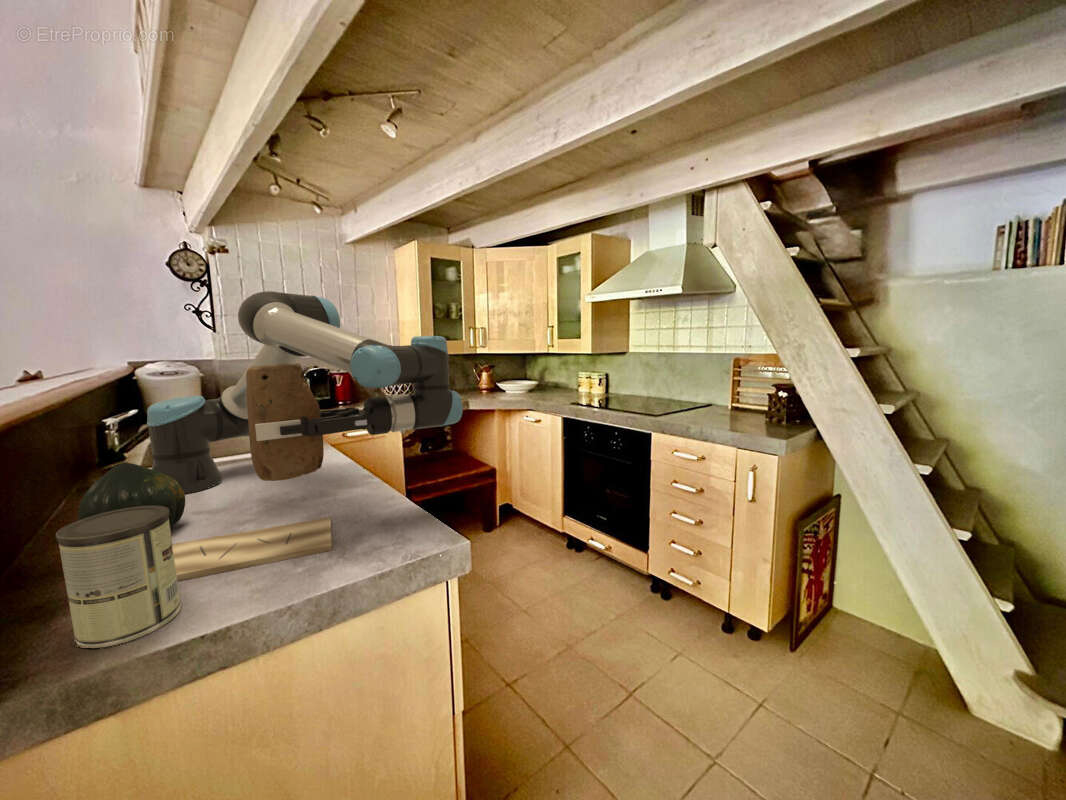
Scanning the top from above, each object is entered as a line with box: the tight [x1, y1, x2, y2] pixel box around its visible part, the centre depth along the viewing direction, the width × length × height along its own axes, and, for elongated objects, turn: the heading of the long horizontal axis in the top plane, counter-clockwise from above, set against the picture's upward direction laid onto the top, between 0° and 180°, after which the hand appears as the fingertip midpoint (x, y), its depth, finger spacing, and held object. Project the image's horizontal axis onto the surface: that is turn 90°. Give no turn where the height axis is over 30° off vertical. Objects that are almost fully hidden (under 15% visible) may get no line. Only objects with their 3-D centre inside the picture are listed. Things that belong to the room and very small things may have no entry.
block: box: [245, 362, 325, 482], centre depth 76 cm, size 11×8×20 cm
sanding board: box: [172, 516, 333, 582], centre depth 75 cm, size 14×28×1 cm, turn 116°
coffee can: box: [55, 505, 182, 647], centre depth 55 cm, size 10×10×14 cm
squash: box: [77, 461, 186, 528], centre depth 82 cm, size 14×15×15 cm
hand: (254, 428), depth 73 cm, fingers closed on block, 8 cm apart
